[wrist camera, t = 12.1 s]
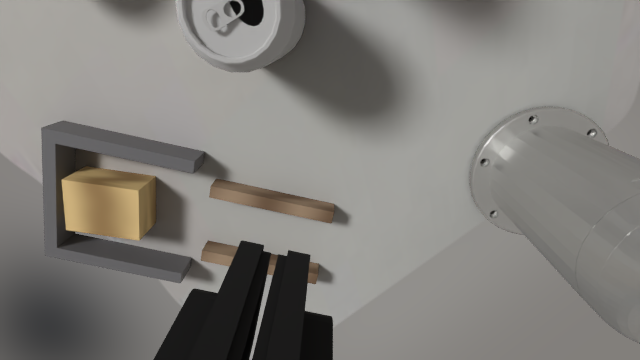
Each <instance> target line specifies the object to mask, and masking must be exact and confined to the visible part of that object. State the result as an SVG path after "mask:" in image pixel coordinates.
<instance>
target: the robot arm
mask: <svg viewBox="0 0 640 360" xmlns="http://www.w3.org/2000/svg"><path fill="white" fill-rule="evenodd" d="M531 116H532V118H531V120H529V118H530V117H531ZM587 132H588V133H587ZM482 159H484V161H483V162H480V161H481V160H482ZM470 189H471V194H472V197H473V199H474V202H475V204H476V206H477V207H478V208H479V210H480V211H481V213H482V214H483V215H484V216H485V217H486V218H487V220H489V221H490V222H491V223H493V224H494V225H496V226H497V227H498V228H501V229H503V230H506V231H508V232H512V233H516V234H521V235H525V236H526V237H527V239H528V240H529V241H530V242H531V243H532V244H533V245H534V246H535V247H536V248H537V249H538V251H539V252H540V253H541V254H542V255H543V256H544V257H545V258H546V259H547V260H548V261H549V262H550V264H551V265H552V266H553V267H554V268H555V269H556V270H557V271H558V272H559V273H560V275H561V276H562V277H563V278H564V279H565V280H566V281H567V282H568V283H569V284H570V285H571V287H572V288H573V289H574V290H575V291H576V292H577V293H578V294H579V295H580V296H581V297H582V298H583V299H584V300H585V301H586V302H587V303H588V305H589V306H590V307H591V308H592V309H593V310H594V311H595V312H596V313H597V314H598V315H599V316H600V317H601V318H602V319H603V320H604V321H605V322H606V323H607V324H608V325H609V326H611V327H612V328H613V329H615V330H616V331H618V332H619V333H620V334H622V335H624V336H625V337H627V338H629V339H631V340H633V341H635V342H637V343H639V344H640V159H639V158H636V157H634V156H632V155H629V154H627V153H625V152H622V151H620V150H618V149H615V148H613V147H611V146H609V143H608V140H607V138H606V136H605V135H604V133H603V131H602V130H601V128H600V127H599V126H598V125H597V124H596V123H595V122H594V121H593V120H591V119H589V118H588V117H586V116H585V115H583V114H581V113H578V112H575V111H573V110H570V109H565V108H561V107H546V106H545V107H538V108H532V109H528V110H525V111H522V112H519V113H517V114H515V115H513V116H511V117H509V118H508V119H506V120H504V121H503V122H502V123H500V124H499V125H498V126H496V127H495V128H494V129H493V130H492V131H491V132H490V133H489V134H488V135H487V136H486V137H485V139H484V140H483V142H482V143H481V145H480V146H479V148H478V149H477V151H476V154H475V156H474V158H473V161H472V165H471V169H470ZM491 211H492V212H491ZM263 249H264V245H261V244H256V243H251V242H247V241H241V242H240V244H239V247H238V249H237V251H236V253H235V256H234V258H233V260H232V263H231V265H230V267H229V269H228V272H227V274H226V276H225V278H224V281H223V283H222V285H221V288H220V290H219V292H218V293H214V292H209V291H204V290H199V289H193V290H192V291H191V292H190V294H189V296H188V298H187V299H186V301H185V303H184V305H183V307H182V309H181V311H180V312H179V314H178V316H177V318H176V320H175V321H174V323H173V325H172V327H171V329H170V331H169V332H168V334H167V336H166V338H165V340H164V342H163V344H162V345H161V347H160V349H159V351H158V353H157V354H156V356H155V358H154V360H249V357H250V353H251V349H252V345H253V340H254V335H255V330H256V326H257V321H258V316H259V311H260V306H261V301H262V296H263V291H264V287H265V282H266V277H267V272H268V267H269V262H270V257H271V253H269V252H264V251H263ZM309 264H310V255H308V254H304V253H299V252H294V251H289V250H288V254H287V256H284V255H279V254H278V258H277V262H276V266H275V270H274V274H273V278H272V282H271V286H270V290H269V294H268V298H267V302H266V306H265V310H264V314H263V318H262V322H261V326H260V330H259V334H258V338H257V342H256V346H255V350H254V355H253V359H252V360H333V320H332V316H327V315H322V314H317V313H312V312H307V311H305V302H306V292H307V283H308V273H309Z"/></svg>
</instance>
